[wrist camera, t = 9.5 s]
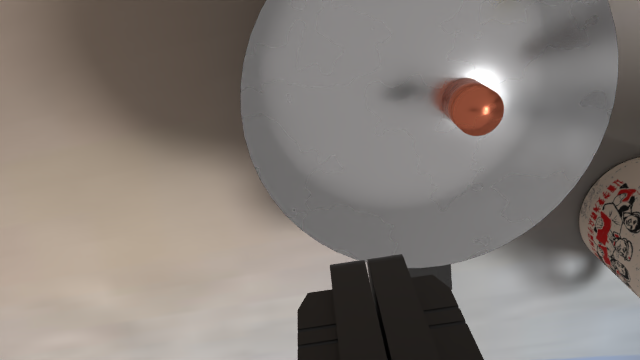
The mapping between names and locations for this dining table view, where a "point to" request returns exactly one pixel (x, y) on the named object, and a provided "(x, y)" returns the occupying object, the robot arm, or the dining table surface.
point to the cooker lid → (425, 118)
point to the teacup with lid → (615, 221)
